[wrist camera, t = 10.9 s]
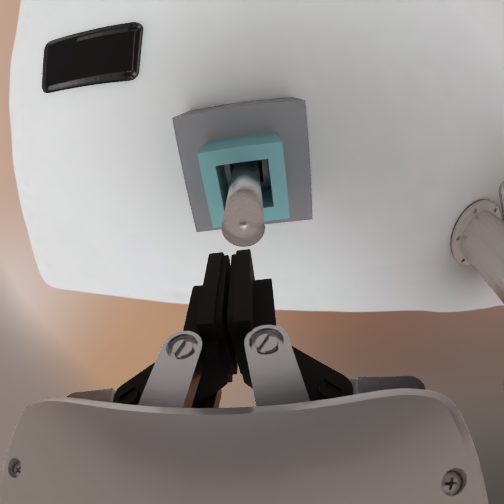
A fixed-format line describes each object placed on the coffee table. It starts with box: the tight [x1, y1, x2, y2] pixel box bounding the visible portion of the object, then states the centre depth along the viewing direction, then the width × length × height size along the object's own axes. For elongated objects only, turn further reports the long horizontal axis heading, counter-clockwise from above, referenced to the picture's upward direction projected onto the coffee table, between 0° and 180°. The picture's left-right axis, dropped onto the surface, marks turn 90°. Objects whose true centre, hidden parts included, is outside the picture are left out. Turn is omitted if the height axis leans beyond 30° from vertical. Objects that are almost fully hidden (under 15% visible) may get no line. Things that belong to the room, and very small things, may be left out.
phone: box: [42, 22, 143, 93], centre depth 25 cm, size 8×1×15 cm
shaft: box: [222, 160, 265, 247], centre depth 22 cm, size 2×2×14 cm
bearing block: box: [172, 98, 312, 232], centre depth 30 cm, size 12×12×8 cm
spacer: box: [197, 132, 290, 228], centre depth 24 cm, size 6×6×5 cm
